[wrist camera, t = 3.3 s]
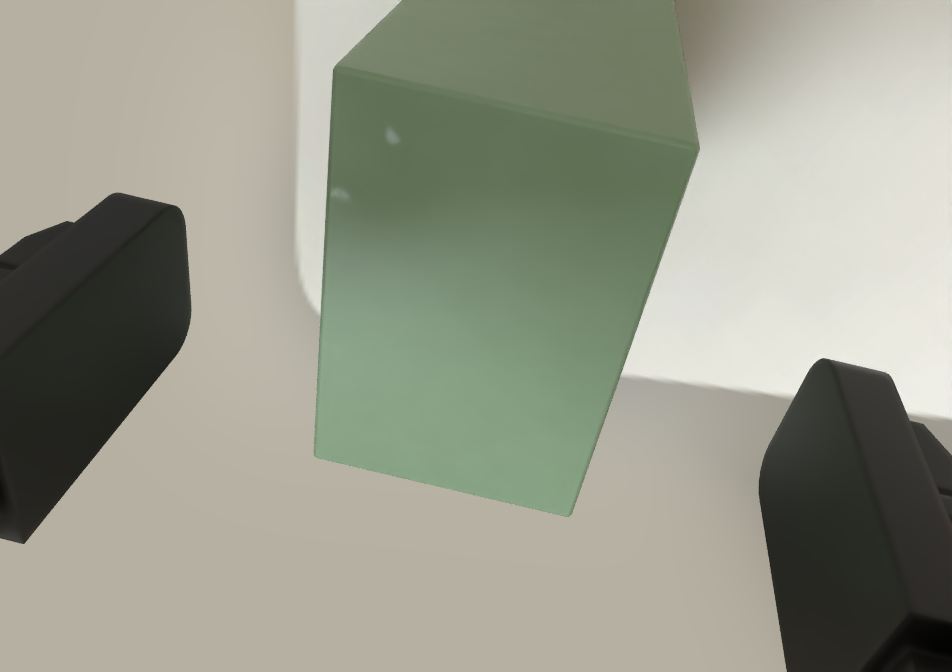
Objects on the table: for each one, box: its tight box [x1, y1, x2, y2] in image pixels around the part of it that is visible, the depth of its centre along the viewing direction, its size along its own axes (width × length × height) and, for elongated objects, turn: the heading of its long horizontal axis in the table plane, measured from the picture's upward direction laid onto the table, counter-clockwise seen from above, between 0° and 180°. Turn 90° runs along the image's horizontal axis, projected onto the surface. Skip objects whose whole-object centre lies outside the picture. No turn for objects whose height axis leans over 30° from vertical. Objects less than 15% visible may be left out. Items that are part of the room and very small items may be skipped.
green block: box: [314, 0, 700, 517], centre depth 15 cm, size 4×6×12 cm, turn 171°
